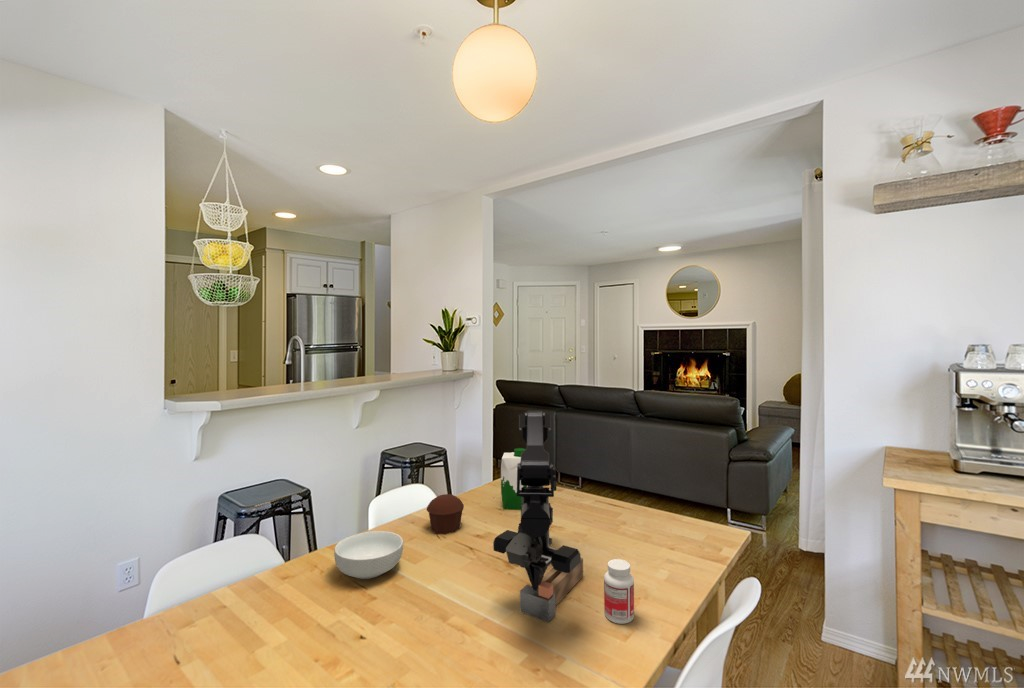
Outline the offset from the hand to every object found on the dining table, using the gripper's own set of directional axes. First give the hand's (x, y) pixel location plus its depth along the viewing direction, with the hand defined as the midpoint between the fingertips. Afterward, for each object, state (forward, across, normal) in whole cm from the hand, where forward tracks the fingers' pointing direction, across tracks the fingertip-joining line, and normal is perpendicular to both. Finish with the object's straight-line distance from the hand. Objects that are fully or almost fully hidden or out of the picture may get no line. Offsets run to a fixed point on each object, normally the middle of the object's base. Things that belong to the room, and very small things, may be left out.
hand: (535, 589), depth 97 cm
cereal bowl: (+5, -45, -8) cm, 46 cm away
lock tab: (+1, +2, 0) cm, 2 cm away
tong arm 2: (+5, +1, +11) cm, 12 cm away
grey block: (+5, 0, 0) cm, 5 cm away
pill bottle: (+5, +15, +9) cm, 18 cm away
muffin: (+5, -46, +22) cm, 51 cm away
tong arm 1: (+5, -1, +11) cm, 12 cm away
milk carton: (+5, -38, +50) cm, 63 cm away
